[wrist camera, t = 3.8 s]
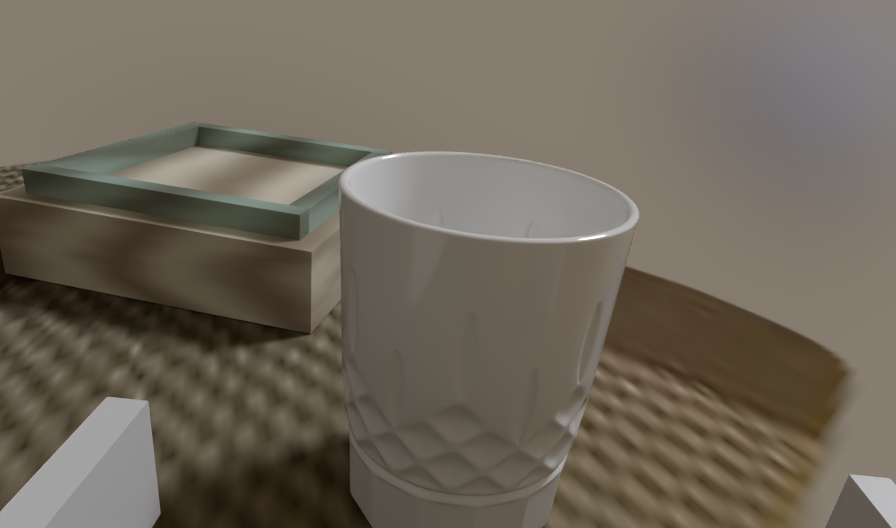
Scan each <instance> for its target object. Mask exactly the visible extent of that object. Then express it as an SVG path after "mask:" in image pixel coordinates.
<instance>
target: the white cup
mask: <svg viewBox="0 0 896 528" xmlns="http://www.w3.org/2000/svg"><path fill="white" fill-rule="evenodd" d="M638 220H639V210H638V208H637V206H636V205H635V203H634V202H633V201H632V200H631V199H630V198H629V197H628V196H626V195H625V194H624V193H622V192H621V191H619V190H617V189H616V188H614V187H612V186H610V185H608V184H606V183H604V182H602V181H599V180H597V179H594V178H592V177H589V176H586V175H583V174H581V173H577V172H574V171H571V170H567V169H564V168H560V167H556V166H552V165H548V164H544V163H539V162H534V161H529V160H524V159H518V158H511V157H504V156H497V155H488V154H477V153H465V152H408V153H397V154H389V155H383V156H378V157H373V158H369V159H366V160H363V161H360V162H358V163H355V164H353V165H351V166H350V167H348V168H347V169H345V170H344V171H343V172H342V174H341V175H340V177H339V224H340V278H341V334H342V368H343V383H344V393H345V405H344V407H345V410H346V413H347V417H348V421H349V438H350V493H351V495H352V497H353V498H354V500H355V501H356V503H357V504H358V506H359V508H360V509H361V511H362V512H363V514H364V515H365V517H366V519H367V520H368V522H369V523H370V525H371V527H372V528H543V527H544V526H545V525H546V524H547V522H548V520H549V516H550V513H551V509H552V505H553V501H554V497H555V493H556V490H557V486H558V482H559V478H560V474H561V471H562V469H563V466H564V464H565V461H566V458H567V454H568V452H569V450H570V448H571V447H572V445H573V444H574V442H575V440H576V436H577V432H578V427H579V424H580V422H581V419H582V416H583V413H584V411H585V408H586V405H587V402H588V399H589V395H590V391H591V388H592V384H593V380H594V377H595V373H596V370H597V366H598V362H599V359H600V355H601V352H602V348H603V344H604V341H605V337H606V334H607V331H608V327H609V324H610V320H611V316H612V313H613V309H614V305H615V302H616V298H617V294H618V291H619V287H620V284H621V280H622V276H623V273H624V269H625V266H626V262H627V259H628V255H629V252H630V248H631V244H632V241H633V237H634V233H635V230H636V226H637V223H638Z"/></svg>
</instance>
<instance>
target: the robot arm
mask: <svg viewBox="0 0 896 528" xmlns="http://www.w3.org/2000/svg"><path fill="white" fill-rule="evenodd" d="M160 514H161V512H160V503H159V494H158V485H157V476H156V467H155V458H154V449H153V440H152V431H151V422H150V413H149V404H148V401H143V400H133V399H124V398H114V397H107V398H106V399H105V400H104V401H103V402H102V403H101V404H100V405H99V406H98V407H97V408H96V409H95V410H94V411H93V413H92V414H91V415H90V416H89V417H88V418H87V419H86V420H85V421H84V422H83V423H82V424H81V425H80V426H79V428H78V429H77V430H76V431H75V432H74V433H73V434H72V435H71V436H70V437H69V438H68V439H67V440H66V442H65V443H64V444H63V445H62V446H61V447H60V448H59V449H58V450H57V451H56V452H55V453H54V454H53V455H52V457H51V458H50V459H49V460H48V461H47V462H46V463H45V464H44V465H43V466H42V467H41V468H40V469H39V470H38V472H37V473H36V474H35V475H34V476H33V477H32V478H31V479H30V480H29V481H28V482H27V483H26V484H25V485H24V487H23V488H22V489H21V490H20V491H19V492H18V493H17V494H16V495H15V496H14V497H13V498H12V499H11V501H10V502H9V503H8V504H7V505H6V506H5V507H4V508H3V509H2V510H1V511H0V528H152V527H153V525H154V524H155V522H156V520H157V519H158V517H159V515H160ZM825 528H896V485H895V484H894V483H893V481H892V480H891V479H889V478H880V477H870V476H860V475H851V474H850V475H849V476H848V478H847V480H846V483H845V485H844V487H843V489H842V492H841V494H840V496H839V499H838V501H837V503H836V505H835V507H834V510H833V512H832V514H831V516H830V519H829V521H828V523H827V526H826V527H825Z"/></svg>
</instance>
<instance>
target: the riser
mask: <svg viewBox="0 0 896 528" xmlns="http://www.w3.org/2000/svg"><path fill="white" fill-rule="evenodd" d="M389 154H392V151H389V150H381V149H375V148H368V147H362V146H354V145H347V144H340V143H334V142H327V141H320V140H314V139H306V138H300V137H293V136H286V135H279V134H272V133H265V132H259V131H252V130H245V129H238V128H232V127H225V126H217V125H211V124H204V123H196V122H193V123H188V124H185V125H181V126H177V127H174V128H170V129H166V130H163V131H159V132H155V133H152V134H148V135H144V136H141V137H137V138H133V139H129V140H126V141H122V142H118V143H115V144H111V145H107V146H104V147H100V148H96V149H92V150H89V151H85V152H82V153H78V154H74V155H70V156H66V157H63V158H59V159H56V160H52V161H48V162H44V163H40V164H37V165H33V166H29V167H26V168H22V173H23V178H24V184H25V185H23V186H19V187H16V188H13V189H9V190H6V191H3V192H0V249H1V254H2V259H3V264H4V269H5V273H6V274H11V275H16V276H21V277H26V278H32V279H37V280H42V281H47V282H52V283H57V284H62V285H67V286H72V287H77V288H82V289H87V290H92V291H97V292H102V293H107V294H112V295H117V296H122V297H128V298H133V299H138V300H143V301H148V302H153V303H158V304H163V305H168V306H173V307H178V308H183V309H188V310H193V311H198V312H203V313H208V314H213V315H218V316H223V317H229V318H234V319H239V320H244V321H249V322H254V323H259V324H264V325H269V326H274V327H279V328H284V329H289V330H294V331H299V332H304V333H309V334H311V333H312V332H313V331H314V330H315V328H316V327H317V326H318V325H319V324H320V323H321V322H322V320H323V319H324V318H325V317H326V316H327V315H328V314H329V312H330V311H331V310H332V309H333V308H334V307H335V306H336V304H337V303H338V302H339V301H340V300H341V278H340V224H339V177H340V175H341V174H342V172H343V171H344V170H345V169H347V168H348V167H350V166H351V165H353V164H355V163H358V162H360V161H363V160H366V159H369V158H373V157H378V156H383V155H389Z"/></svg>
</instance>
